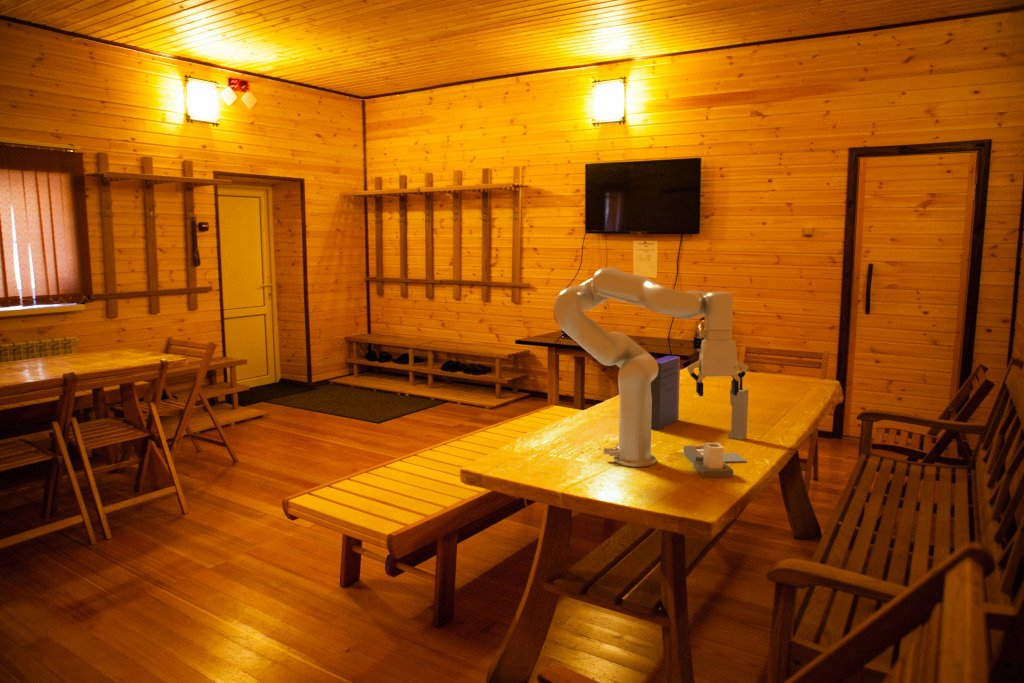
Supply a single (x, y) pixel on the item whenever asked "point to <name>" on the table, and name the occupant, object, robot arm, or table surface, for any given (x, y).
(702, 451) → the charging dock
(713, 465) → the plug
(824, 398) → the table surface
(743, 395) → the vintage mobile phone
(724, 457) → the rubber mat
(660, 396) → the cereal box
